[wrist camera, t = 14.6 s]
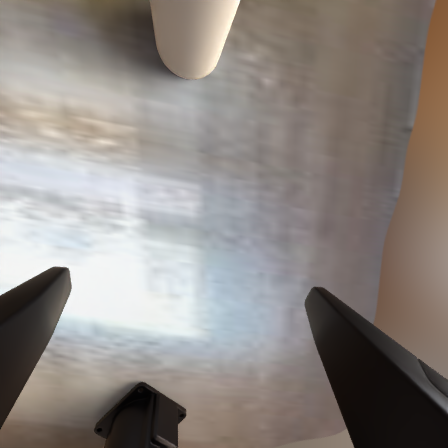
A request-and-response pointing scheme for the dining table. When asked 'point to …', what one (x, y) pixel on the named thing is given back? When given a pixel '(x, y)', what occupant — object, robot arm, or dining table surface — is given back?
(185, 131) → the dining table surface
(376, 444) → the robot arm
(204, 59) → the beverage can
